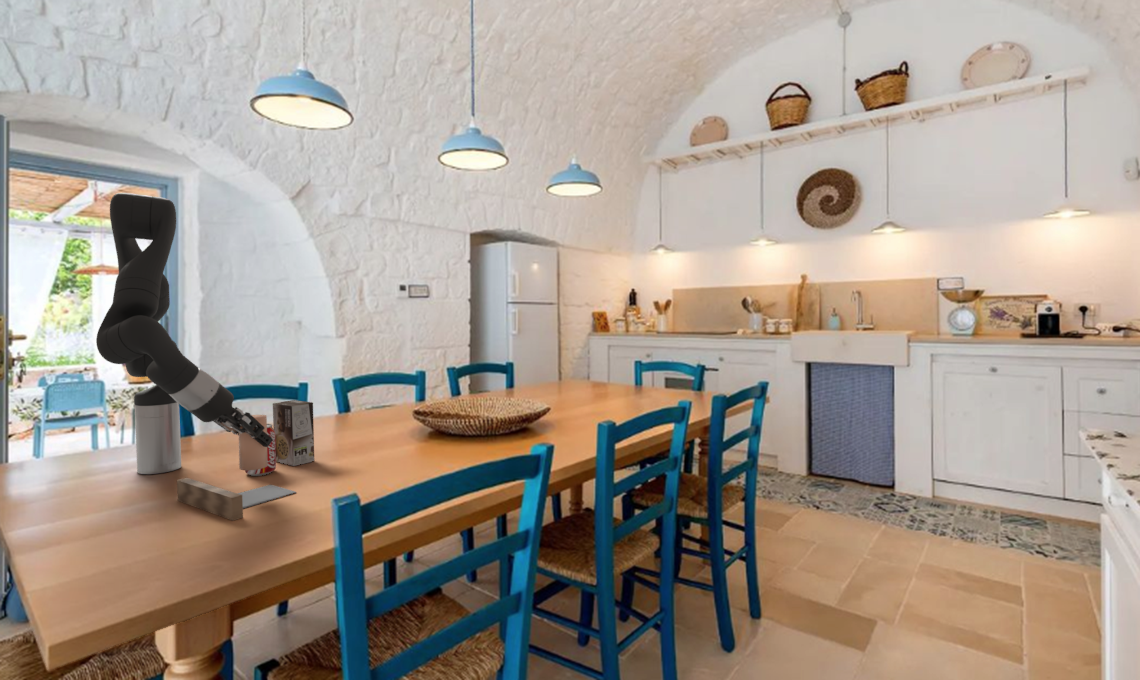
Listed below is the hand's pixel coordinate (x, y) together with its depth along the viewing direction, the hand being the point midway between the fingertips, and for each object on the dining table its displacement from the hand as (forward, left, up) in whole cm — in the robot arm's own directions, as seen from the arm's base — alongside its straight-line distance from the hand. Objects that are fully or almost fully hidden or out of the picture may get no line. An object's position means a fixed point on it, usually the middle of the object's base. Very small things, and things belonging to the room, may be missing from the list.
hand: (261, 441), depth 126 cm
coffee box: (-20, +20, -12) cm, 31 cm away
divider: (-1, -11, -12) cm, 16 cm away
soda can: (-17, +9, -12) cm, 23 cm away
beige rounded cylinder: (0, -2, -5) cm, 6 cm away
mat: (0, -2, -12) cm, 12 cm away
